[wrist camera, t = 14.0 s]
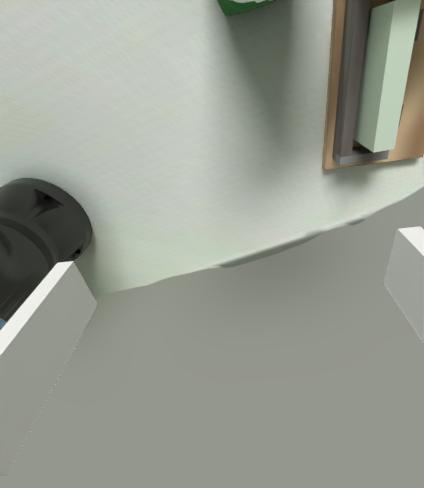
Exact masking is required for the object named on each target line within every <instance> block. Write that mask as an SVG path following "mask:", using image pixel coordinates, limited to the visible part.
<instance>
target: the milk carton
mask: <svg viewBox="0 0 424 488" xmlns="http://www.w3.org/2000/svg"><path fill="white" fill-rule="evenodd" d="M273 1H275V0H218V2H219V4H220V6H221V8H222V10H223V12H224V14H225V16H226V15H232V14H238V13H242V12H246V11H249V10H252V9H255V8H257V7H260V6H263V5H265V4H268V3H271V2H273Z"/></svg>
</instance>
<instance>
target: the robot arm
mask: <svg viewBox="0 0 424 488" xmlns="http://www.w3.org/2000/svg"><path fill="white" fill-rule="evenodd" d="M90 240H91V225H90V222H89V219H88V217H87V215H86V213H85V211H84V210H83V208H82V207H81V206H80V205H79V203H78V202H77V201H76V200H75V199H74V198H73V197H72V196H70V195H69V194H68V193H67V192H65V191H64V190H62V189H61V188H59V187H57V186H55V185H53V184H51V183H48V182H46V181H43V180H39V179H32V178H21V179H16V180H13V181H11V182H9V183H7V184H5V185H4V186H2V187H0V475H5V476H6V475H7V474H8V472H9V470H10V468H11V466H12V464H13V463H14V461H15V459H16V457H17V455H18V453H19V451H20V450H21V448H22V446H23V444H24V442H25V440H26V438H27V437H28V435H29V433H30V431H31V429H32V427H33V425H34V424H35V422H36V420H37V418H38V416H39V414H40V412H41V410H42V409H43V407H44V405H45V403H46V401H47V399H48V397H49V396H50V394H51V392H52V390H53V388H54V386H55V384H56V383H57V381H58V378H59V377H60V375H61V373H62V371H63V369H64V368H65V365H66V364H67V362H68V360H69V358H70V356H71V355H72V353H73V351H74V349H75V347H76V345H77V343H78V341H79V340H80V338H81V336H82V334H83V332H84V330H85V328H86V327H87V325H88V323H89V321H90V319H91V317H92V315H93V314H94V312H95V310H96V308H97V306H98V303H97V302H96V300H95V298H94V296H93V295H92V293H91V291H90V289H89V288H88V286H87V284H86V282H85V281H84V279H83V277H82V275H81V274H80V272H79V270H78V268H77V267H76V265H75V263H74V260H76V259H77V258H78V257H79V256H80V255H81V254H82V253H83V252H84V250H85V249H86V248H87V246H88V245H89V243H90ZM383 284H384V285H385V287H386V288H387V290H388V291H389V293H390V294H391V296H392V297H393V299H394V300H395V302H396V303H397V305H398V306H399V308H400V309H401V311H402V312H403V314H404V315H405V317H406V318H407V319H408V321H409V323H410V324H411V326H412V327H413V329H414V330H415V332H416V333H417V334H418V336H419V338H420V339H421V340H422V342H423V343H424V230H423V229H422V228H421V227H412V228H402V229H397V233H396V237H395V241H394V244H393V249H392V252H391V256H390V260H389V264H388V268H387V272H386V275H385V279H384V283H383Z"/></svg>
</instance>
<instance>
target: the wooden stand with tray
mask: <svg viewBox="0 0 424 488" xmlns="http://www.w3.org/2000/svg"><path fill="white" fill-rule="evenodd" d="M392 1H396V0H334V4H333V19H332V34H331V49H330V63H329V78H328V93H327V108H326V123H325V138H324V152H323V168H324V169H325V170H328V169H335V168H343V167H350V166H358V165H366V164H373V163H381V162H388V161H396V160H403V159H411V158H419V157H423V154H424V0H421V5H420V10H419V16H418V21H417V27H416V32H415V38H414V43H413V49H412V54H411V60H410V65H409V71H408V77H407V82H406V88H405V93H404V99H403V104H402V110H401V115H400V121H399V126H398V132H397V137H396V143H395V148H394V149H392V150H386V151H380V152H374V153H373V152H372V151H370V150H369V149H367V148H366V147H364V146H363V145H361V144H360V143H358V142H357V141H355V140H354V139H353V138H354V130H355V122H356V114H357V106H358V98H359V90H360V82H361V74H362V66H363V58H364V50H365V42H366V34H367V26H368V18H369V10H370V9H372V8H375V7H378V6H381V5H384V4H387V3H389V2H392Z"/></svg>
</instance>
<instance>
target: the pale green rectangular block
mask: <svg viewBox="0 0 424 488" xmlns="http://www.w3.org/2000/svg"><path fill="white" fill-rule="evenodd" d="M420 5H421V0H396V1H392V2H389V3H387V4H384V5H381V6H378V7H375V8H372V9H370V10H369V18H368V26H367V34H366V42H365V50H364V58H363V66H362V74H361V82H360V90H359V98H358V106H357V114H356V122H355V130H354V138H353V139H354V140H355V141H357V142H358V143H360V144H361V145H363V146H364V147H366V148H367V149H369V150H370V151H372V152H373V153H374V152H380V151H386V150H392V149H394V148H395V143H396V137H397V132H398V126H399V121H400V115H401V110H402V104H403V99H404V93H405V88H406V82H407V77H408V71H409V65H410V60H411V54H412V49H413V43H414V38H415V32H416V27H417V21H418V16H419V10H420Z"/></svg>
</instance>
